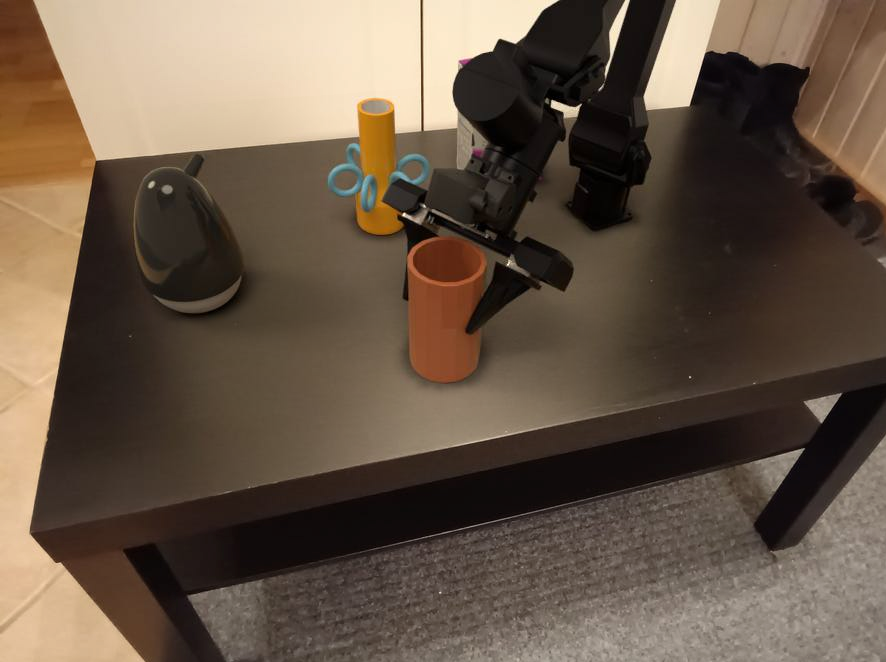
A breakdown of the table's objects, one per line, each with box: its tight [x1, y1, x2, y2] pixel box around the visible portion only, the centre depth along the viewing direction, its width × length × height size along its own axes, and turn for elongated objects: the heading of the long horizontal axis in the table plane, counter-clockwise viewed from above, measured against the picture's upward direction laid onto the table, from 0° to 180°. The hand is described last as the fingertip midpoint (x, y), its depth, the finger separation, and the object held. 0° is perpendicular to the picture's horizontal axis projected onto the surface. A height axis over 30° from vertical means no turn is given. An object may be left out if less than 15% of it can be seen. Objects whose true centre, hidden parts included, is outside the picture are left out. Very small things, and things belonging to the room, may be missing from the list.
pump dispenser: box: [132, 153, 245, 314], centre depth 70 cm, size 10×10×15 cm
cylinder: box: [327, 97, 431, 236], centre depth 81 cm, size 12×10×15 cm
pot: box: [406, 235, 488, 384], centre depth 67 cm, size 7×7×12 cm
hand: (436, 316), depth 66 cm, fingers closed on pot, 7 cm apart
